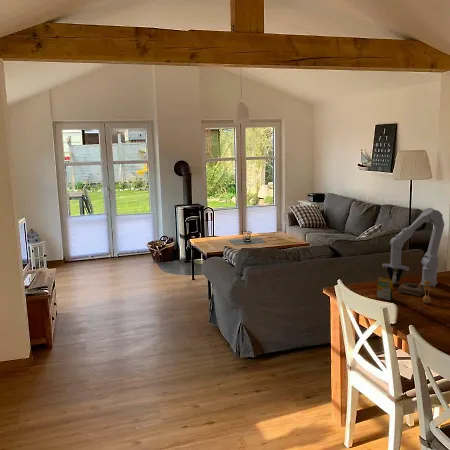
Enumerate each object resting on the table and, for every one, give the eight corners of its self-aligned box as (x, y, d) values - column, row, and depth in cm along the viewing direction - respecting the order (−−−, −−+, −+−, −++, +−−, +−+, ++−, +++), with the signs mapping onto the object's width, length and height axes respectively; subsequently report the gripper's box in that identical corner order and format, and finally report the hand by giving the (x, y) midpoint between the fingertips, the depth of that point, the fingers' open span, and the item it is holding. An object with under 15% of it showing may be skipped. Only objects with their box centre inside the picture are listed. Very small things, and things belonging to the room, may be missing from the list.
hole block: (404, 287, 270) (404, 281, 269) (426, 290, 263) (426, 285, 262) (397, 292, 260) (397, 287, 260) (420, 296, 253) (420, 291, 253)
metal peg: (392, 283, 277) (393, 271, 276) (398, 284, 275) (399, 272, 274) (390, 284, 275) (391, 273, 273) (396, 285, 273) (397, 274, 271)
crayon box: (392, 299, 251) (393, 278, 248) (389, 300, 248) (390, 279, 246) (379, 296, 255) (379, 275, 253) (376, 297, 253) (377, 276, 251)
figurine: (418, 304, 242) (419, 281, 240) (417, 300, 248) (418, 278, 246) (435, 305, 240) (437, 282, 238) (434, 301, 246) (435, 279, 244)
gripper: (380, 257, 273) (380, 280, 276) (406, 261, 265) (405, 284, 267) (385, 255, 279) (384, 277, 281) (410, 258, 270) (409, 281, 273)
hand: (394, 280), depth 274 cm, fingers closed on metal peg, 3 cm apart
